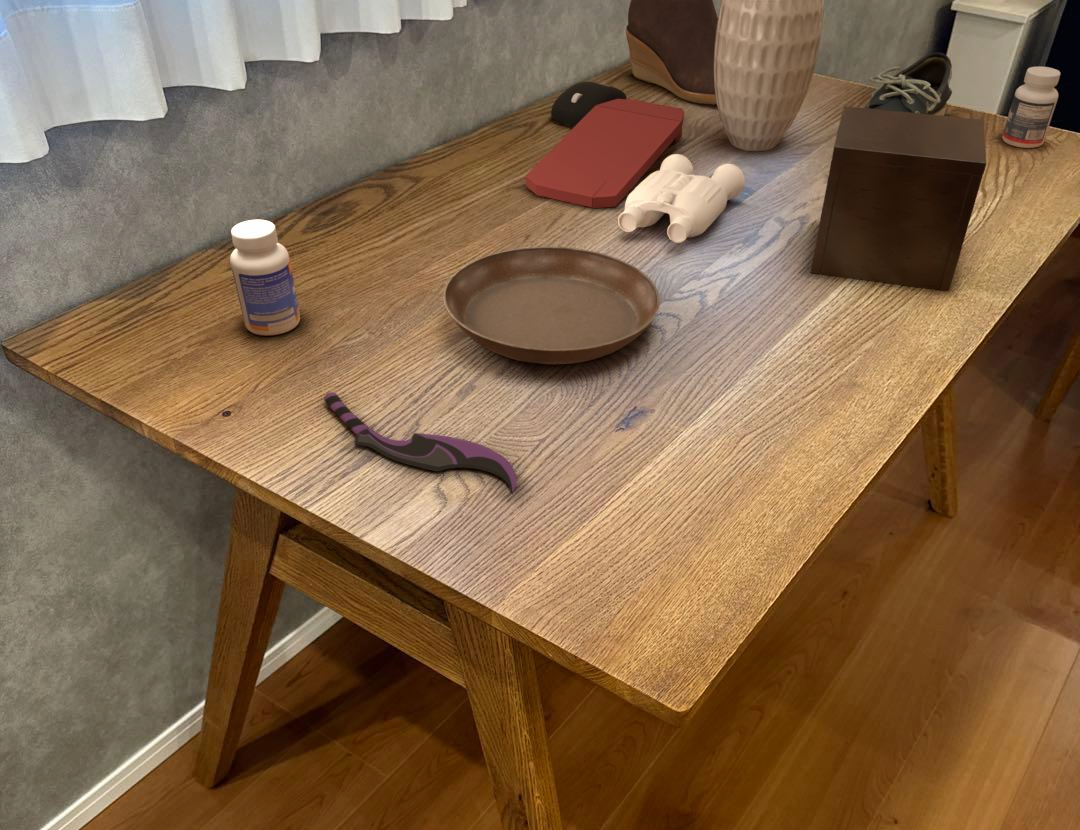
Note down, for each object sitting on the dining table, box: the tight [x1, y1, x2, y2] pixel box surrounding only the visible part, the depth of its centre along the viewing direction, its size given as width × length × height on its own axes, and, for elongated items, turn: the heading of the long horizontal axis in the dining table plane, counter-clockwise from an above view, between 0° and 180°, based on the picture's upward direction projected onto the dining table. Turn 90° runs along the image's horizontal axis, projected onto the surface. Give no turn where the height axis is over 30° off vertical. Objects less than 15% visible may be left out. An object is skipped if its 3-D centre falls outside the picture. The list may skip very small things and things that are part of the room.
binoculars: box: [617, 153, 746, 244], centre depth 115 cm, size 10×16×5 cm, turn 153°
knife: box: [323, 391, 518, 493], centre depth 84 cm, size 21×1×5 cm
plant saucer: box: [442, 246, 661, 365], centre depth 98 cm, size 21×21×3 cm
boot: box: [625, 0, 718, 105], centre depth 143 cm, size 9×24×20 cm, turn 47°
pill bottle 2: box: [1001, 66, 1061, 149], centre depth 132 cm, size 5×5×9 cm
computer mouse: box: [550, 81, 628, 128], centre depth 141 cm, size 8×12×4 cm, turn 139°
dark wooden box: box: [809, 105, 987, 292], centre depth 105 cm, size 14×12×13 cm
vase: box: [714, 0, 825, 152], centre depth 125 cm, size 13×13×28 cm
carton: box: [524, 98, 685, 209], centre depth 128 cm, size 12×5×25 cm
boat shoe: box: [863, 51, 953, 116], centre depth 134 cm, size 26×10×8 cm, turn 140°
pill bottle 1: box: [229, 219, 301, 336], centre depth 96 cm, size 5×5×10 cm
